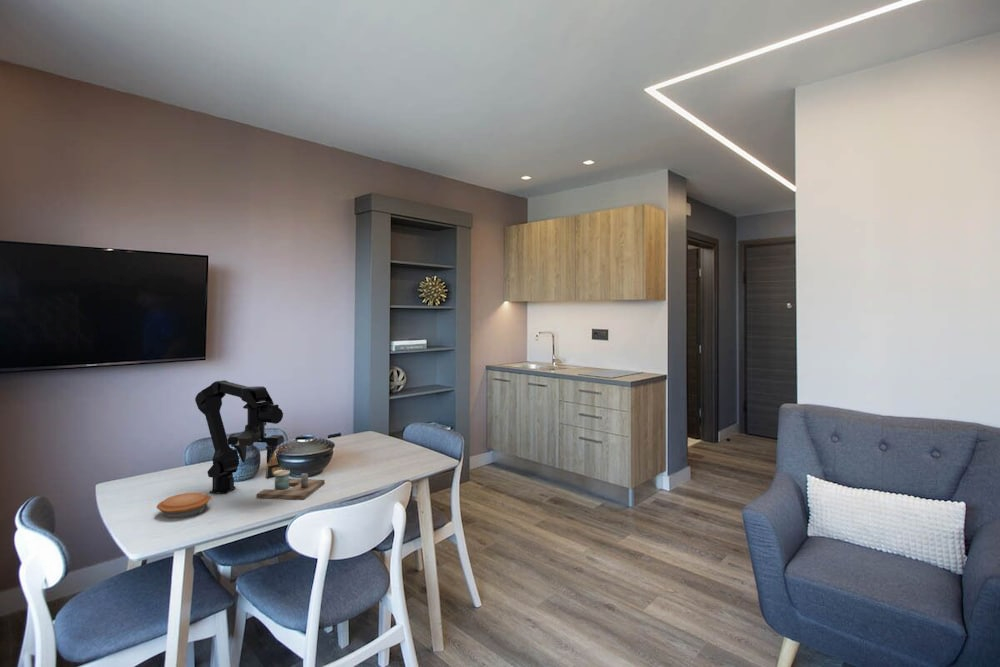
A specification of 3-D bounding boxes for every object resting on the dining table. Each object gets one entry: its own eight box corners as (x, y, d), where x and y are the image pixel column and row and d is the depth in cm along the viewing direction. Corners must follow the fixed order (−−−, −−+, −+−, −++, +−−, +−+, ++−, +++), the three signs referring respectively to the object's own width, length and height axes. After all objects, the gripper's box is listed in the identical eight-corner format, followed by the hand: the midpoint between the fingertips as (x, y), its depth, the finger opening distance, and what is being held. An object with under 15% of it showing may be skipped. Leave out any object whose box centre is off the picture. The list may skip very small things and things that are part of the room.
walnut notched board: (256, 497, 181) (256, 480, 180) (281, 481, 199) (281, 466, 198) (303, 499, 179) (303, 482, 179) (324, 483, 197) (324, 467, 197)
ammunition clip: (267, 478, 202) (267, 449, 202) (265, 477, 204) (265, 449, 203) (293, 473, 210) (293, 445, 210) (291, 472, 211) (291, 444, 211)
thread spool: (270, 492, 186) (270, 473, 186) (278, 487, 192) (278, 469, 192) (285, 493, 186) (285, 474, 186) (292, 487, 192) (292, 469, 192)
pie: (180, 502, 176) (180, 488, 175) (220, 504, 174) (220, 490, 174) (144, 519, 160) (144, 504, 160) (188, 522, 159) (188, 507, 158)
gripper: (218, 425, 173) (218, 468, 173) (269, 426, 172) (269, 470, 173) (236, 418, 184) (236, 459, 184) (284, 420, 183) (284, 461, 184)
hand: (255, 462), depth 181 cm, fingers open, 9 cm apart
